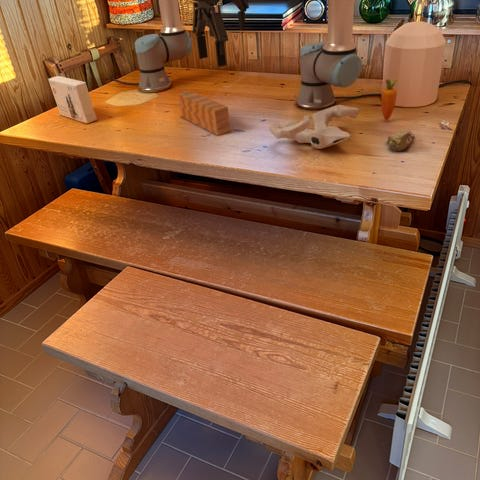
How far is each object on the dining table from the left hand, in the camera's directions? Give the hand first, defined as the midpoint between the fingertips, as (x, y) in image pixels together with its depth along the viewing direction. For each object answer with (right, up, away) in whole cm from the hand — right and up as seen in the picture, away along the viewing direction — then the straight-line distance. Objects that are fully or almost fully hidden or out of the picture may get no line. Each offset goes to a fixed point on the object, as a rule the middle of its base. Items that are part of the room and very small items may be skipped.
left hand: (227, 33), depth 179 cm
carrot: (+57, -38, -13) cm, 70 cm away
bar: (-9, -35, 0) cm, 36 cm away
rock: (+57, -50, -31) cm, 82 cm away
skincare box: (-64, -28, +18) cm, 73 cm away
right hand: (-4, -25, -35) cm, 43 cm away
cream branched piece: (+32, -49, -26) cm, 64 cm away
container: (+72, -24, +4) cm, 76 cm away
